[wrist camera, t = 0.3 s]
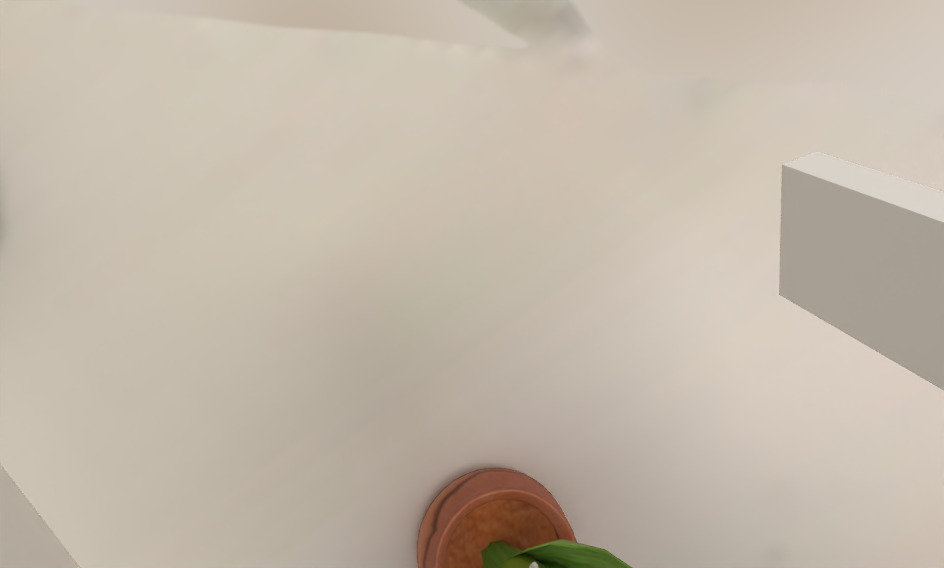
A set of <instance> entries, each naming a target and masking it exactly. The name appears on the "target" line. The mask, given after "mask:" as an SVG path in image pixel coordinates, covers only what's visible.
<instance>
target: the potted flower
mask: <svg viewBox="0 0 944 568" xmlns="http://www.w3.org/2000/svg"><path fill="white" fill-rule="evenodd" d="M417 561H418V568H632V567H630V566H629V565H627V564H626V563H624V562H623V561H621V560H620V559H618V558H617V557H615V556H614V555H612V554H611V553H609V552H608V551H606V550H605V549H601V548H597V547H593V546H588V545H584V544H580V543H577V542H576V539H575V536H574V533H573V531H572V529H571V527H570V525H569V523H568V521H567V519H566V517H565V515H564V513H563V511H562V509H561V507H560V506H559V505H558V503H557V502H556V500H555V499H554V497H553V496H552V495H551V494H550V493H549V492H548V491H547V490H546V488H545V487H544V486H542V485H541V484H540V483H538V482H537V481H536V480H534V479H533V478H531V477H529V476H527V475H525V474H523V473H520V472H517V471H514V470H510V469H503V468H488V469H483V470H478V471H474V472H472V473H469V474H466V475H464V476H462V477H460V478H458V479H457V480H455V481H453V482H452V483H451V484H450V485H448V486H447V487H446V488H445V489H444V490H443V491H442V492H441V493H440V494H439V495H438V496H437V497H436V498H435V500H434V501H433V503H432V504H431V506H430V507H429V509H428V511H427V513H426V515H425V517H424V519H423V522H422V525H421V528H420V531H419V536H418V542H417Z"/></svg>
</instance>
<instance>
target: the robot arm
mask: <svg viewBox="0 0 944 568" xmlns="http://www.w3.org/2000/svg"><path fill="white" fill-rule="evenodd" d="M779 295H781V296H783V297H784V298H786V299H788V300H790V301H791V302H793V303H795V304H796V305H798V306H800V307H802V308H803V309H805V310H807V311H808V312H810V313H812V314H814V315H815V316H817V317H819V318H820V319H822V320H824V321H826V322H827V323H829V324H831V325H832V326H834V327H836V328H838V329H839V330H841V331H843V332H844V333H846V334H848V335H850V336H851V337H853V338H855V339H857V340H858V341H860V342H862V343H863V344H865V345H867V346H869V347H870V348H872V349H874V350H875V351H877V352H879V353H881V354H882V355H884V356H886V357H887V358H889V359H891V360H893V361H894V362H896V363H898V364H899V365H901V366H903V367H905V368H906V369H908V370H910V371H911V372H913V373H915V374H917V375H918V376H920V377H922V378H924V379H925V380H927V381H929V382H930V383H932V384H934V385H936V386H937V387H939V388H941V389H942V390H944V191H941V190H937V189H934V188H931V187H928V186H925V185H922V184H919V183H915V182H912V181H909V180H906V179H903V178H900V177H896V176H893V175H890V174H887V173H884V172H881V171H878V170H874V169H871V168H868V167H865V166H862V165H859V164H856V163H852V162H849V161H846V160H843V159H840V158H837V157H833V156H830V155H827V154H824V153H821V152H818V151H816V152H814V153H811V154H808V155H806V156H803V157H800V158H798V159H795V160H792V161H790V162H787V163H785V164H782V189H781V236H780V284H779ZM0 568H80V567H79V565H78V564H77V563H76V562H75V560H74V559H73V558H72V556H71V555H70V554H69V552H68V551H67V550H66V549H65V547H64V546H63V545H62V543H61V542H60V541H59V539H58V538H57V537H56V536H55V534H54V533H53V532H52V530H51V529H50V528H49V526H48V525H47V524H46V523H45V521H44V520H43V519H42V517H41V516H40V515H39V513H38V512H37V511H36V510H35V508H34V507H33V506H32V504H31V503H30V502H29V500H28V499H27V498H26V497H25V495H24V494H23V493H22V491H21V490H20V489H19V487H18V486H17V485H16V484H15V482H14V481H13V480H12V478H11V477H10V476H9V474H8V473H7V472H6V471H5V469H4V468H3V467H2V465H1V464H0Z"/></svg>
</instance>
